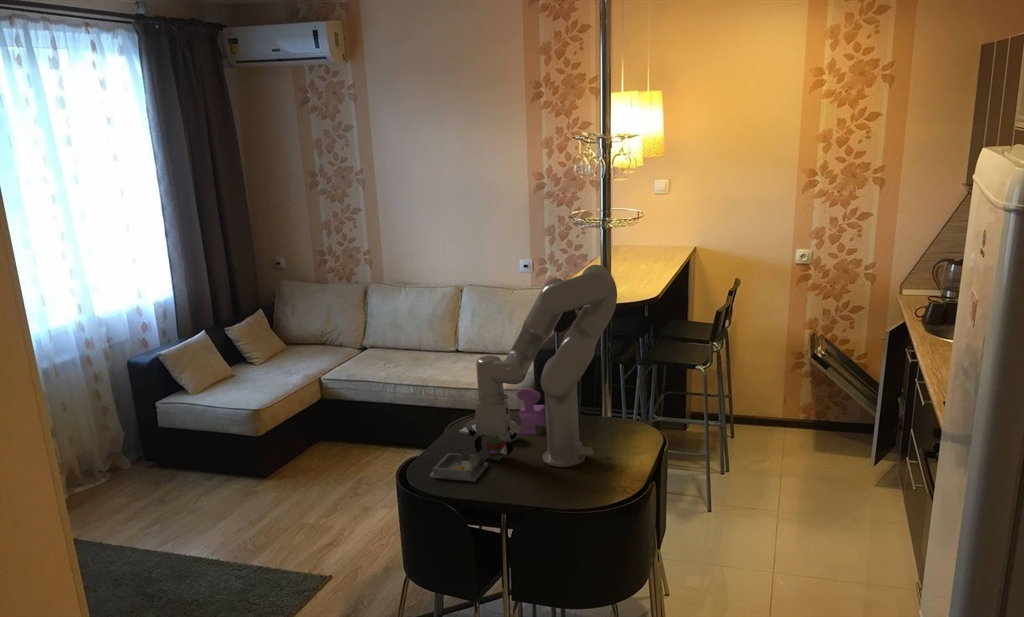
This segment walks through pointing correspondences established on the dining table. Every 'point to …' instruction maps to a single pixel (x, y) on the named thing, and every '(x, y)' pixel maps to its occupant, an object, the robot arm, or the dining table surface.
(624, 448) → the dining table surface
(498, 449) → the geometric puzzle
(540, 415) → the toy chair
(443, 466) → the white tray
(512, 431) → the baseball
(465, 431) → the external hard drive
